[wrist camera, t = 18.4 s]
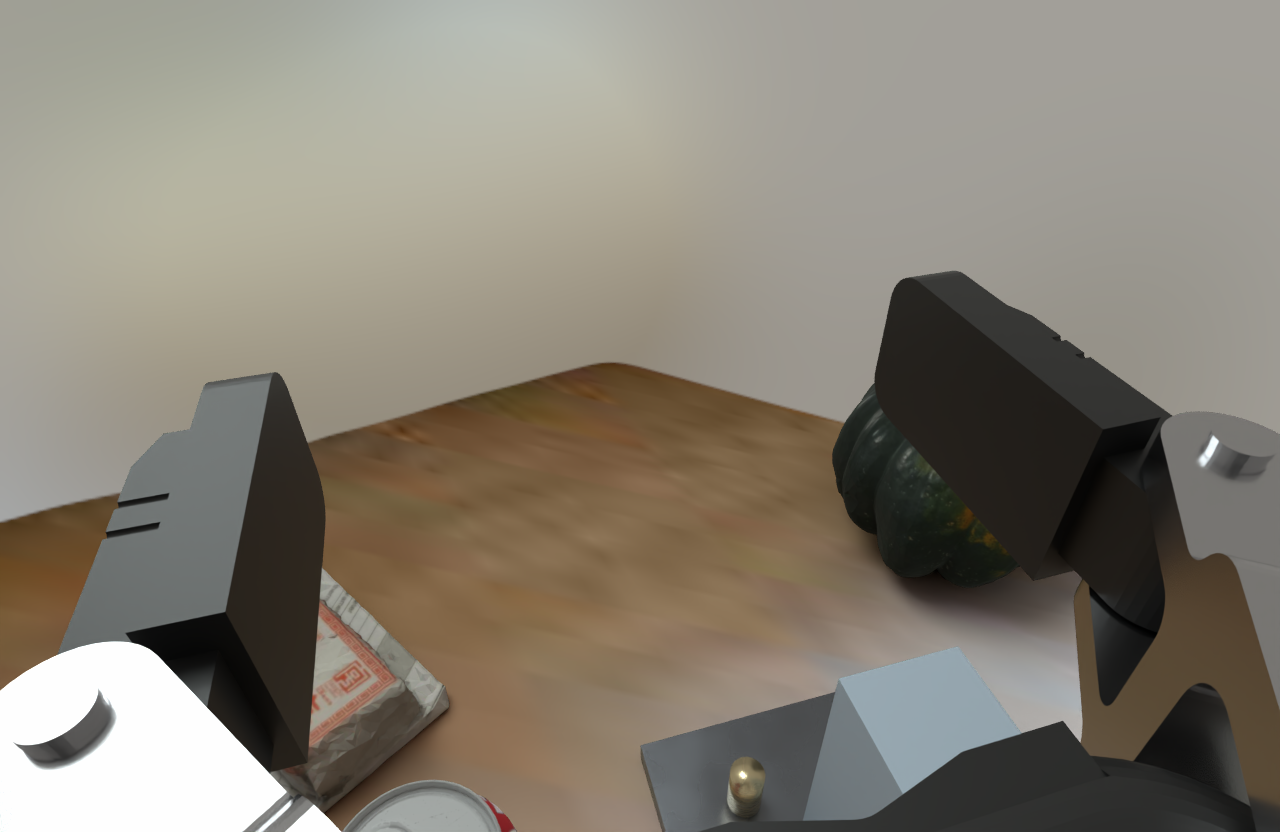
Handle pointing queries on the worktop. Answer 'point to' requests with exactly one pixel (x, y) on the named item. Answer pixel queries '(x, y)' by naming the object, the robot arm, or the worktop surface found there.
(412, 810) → the soda can
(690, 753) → the plate
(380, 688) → the packaged product
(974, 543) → the squash
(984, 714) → the block
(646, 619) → the worktop surface
